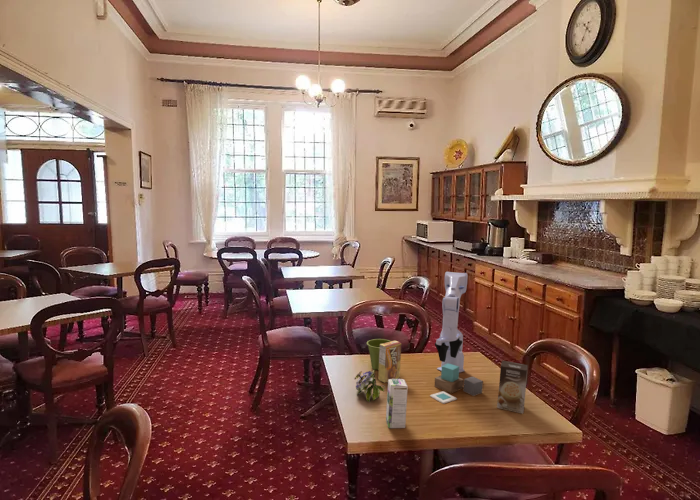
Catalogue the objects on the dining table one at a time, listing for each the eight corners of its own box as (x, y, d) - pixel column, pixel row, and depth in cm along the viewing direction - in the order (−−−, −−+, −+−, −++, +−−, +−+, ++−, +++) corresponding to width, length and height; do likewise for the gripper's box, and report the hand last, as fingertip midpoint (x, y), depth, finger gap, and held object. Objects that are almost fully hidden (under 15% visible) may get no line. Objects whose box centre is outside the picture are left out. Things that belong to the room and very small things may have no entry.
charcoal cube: (471, 388, 174) (472, 376, 174) (481, 393, 170) (482, 380, 170) (463, 391, 172) (464, 379, 171) (473, 396, 167) (474, 383, 167)
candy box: (393, 375, 185) (394, 340, 184) (400, 378, 182) (401, 342, 180) (377, 379, 180) (379, 343, 178) (384, 383, 177) (386, 346, 175)
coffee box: (496, 408, 158) (499, 365, 156) (498, 401, 164) (501, 359, 162) (523, 414, 154) (527, 370, 152) (524, 406, 160) (528, 364, 158)
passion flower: (358, 407, 167) (352, 376, 172) (386, 402, 168) (379, 371, 173) (358, 403, 157) (352, 370, 162) (388, 397, 158) (380, 364, 163)
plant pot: (378, 360, 201) (379, 337, 200) (398, 368, 193) (399, 343, 191) (360, 366, 193) (361, 342, 192) (379, 375, 185) (380, 349, 184)
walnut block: (446, 382, 180) (446, 372, 180) (462, 388, 174) (463, 379, 174) (434, 387, 175) (434, 377, 175) (451, 394, 169) (451, 384, 169)
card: (443, 392, 170) (443, 390, 170) (456, 399, 164) (456, 397, 164) (429, 396, 166) (430, 394, 166) (443, 403, 160) (443, 402, 160)
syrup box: (385, 419, 147) (387, 378, 146) (402, 419, 148) (404, 378, 146) (388, 428, 142) (390, 385, 140) (406, 428, 142) (408, 385, 140)
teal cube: (447, 375, 178) (448, 363, 177) (458, 378, 174) (459, 366, 174) (441, 378, 174) (441, 366, 174) (452, 382, 171) (452, 369, 170)
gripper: (451, 321, 183) (449, 352, 185) (430, 326, 173) (428, 360, 175) (466, 325, 178) (464, 357, 179) (445, 330, 168) (443, 365, 170)
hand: (447, 359), depth 177 cm, fingers open, 7 cm apart
